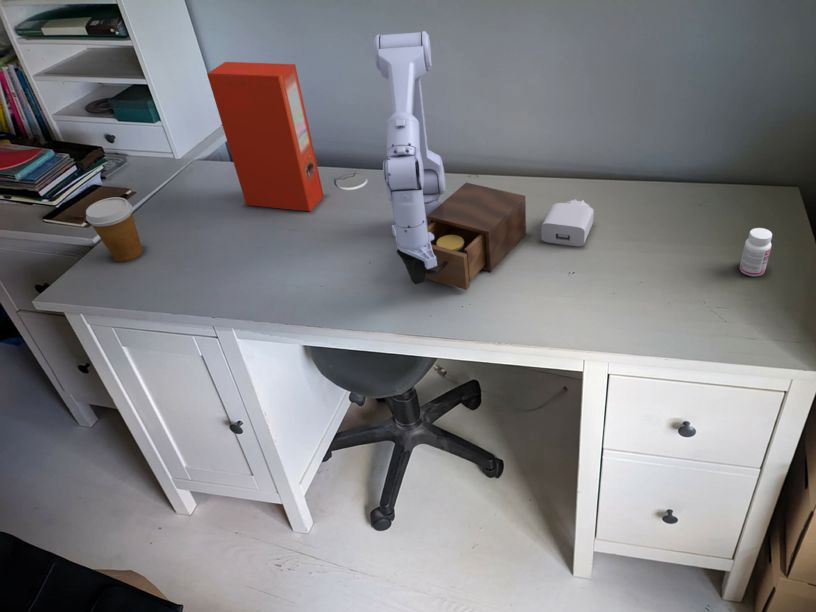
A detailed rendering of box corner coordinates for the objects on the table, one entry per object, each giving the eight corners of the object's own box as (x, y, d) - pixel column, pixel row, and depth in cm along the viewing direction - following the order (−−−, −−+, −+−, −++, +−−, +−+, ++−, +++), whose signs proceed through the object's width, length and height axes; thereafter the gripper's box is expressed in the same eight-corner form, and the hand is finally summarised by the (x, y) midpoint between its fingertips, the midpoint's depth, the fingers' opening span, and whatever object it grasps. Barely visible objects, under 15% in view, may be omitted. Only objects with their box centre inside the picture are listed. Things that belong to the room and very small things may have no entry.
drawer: (454, 302, 136) (451, 269, 130) (397, 285, 141) (392, 252, 136) (502, 253, 147) (500, 220, 142) (448, 238, 153) (445, 207, 148)
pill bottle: (765, 278, 136) (774, 241, 131) (739, 275, 137) (747, 238, 132) (764, 264, 140) (774, 227, 134) (739, 262, 141) (747, 225, 135)
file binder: (262, 190, 178) (225, 60, 157) (324, 195, 174) (294, 63, 153) (246, 206, 172) (206, 74, 151) (309, 212, 168) (277, 77, 147)
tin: (452, 273, 141) (450, 252, 138) (433, 264, 144) (430, 243, 141) (471, 261, 144) (469, 240, 141) (451, 252, 147) (449, 231, 144)
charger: (598, 212, 159) (583, 247, 149) (559, 207, 162) (541, 241, 151) (600, 193, 156) (584, 228, 145) (559, 188, 159) (541, 222, 148)
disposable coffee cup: (158, 246, 161) (139, 200, 153) (127, 269, 154) (105, 221, 146) (128, 239, 164) (107, 193, 156) (96, 261, 158) (73, 214, 150)
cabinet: (490, 272, 144) (488, 231, 138) (431, 255, 150) (426, 215, 144) (526, 235, 154) (525, 195, 147) (468, 220, 160) (466, 182, 154)
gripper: (449, 230, 122) (455, 292, 131) (412, 196, 132) (420, 257, 141) (412, 243, 120) (421, 306, 129) (377, 208, 130) (388, 269, 139)
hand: (418, 281), depth 135 cm, fingers closed
